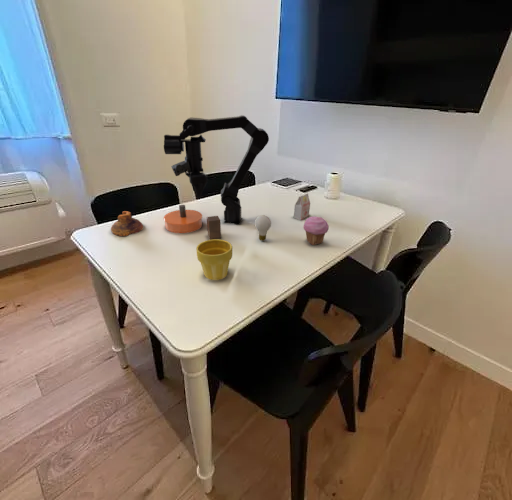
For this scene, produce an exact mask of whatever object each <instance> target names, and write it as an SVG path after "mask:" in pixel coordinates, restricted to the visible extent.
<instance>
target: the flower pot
mask: <svg viewBox="0 0 512 500" xmlns="http://www.w3.org/2000/svg"><path fill="white" fill-rule="evenodd" d="M195 251H196V258H197V261H198V262H199V263H200V266H201V268H202V271H203V274H204V276H205V278H206V279H208V280H211V281H219V280H222V279H225V278H226V277H227V275H228V271H229V266H230V261H231V260H232V259H233V245H232V244H231V242H229V241H228V240H224V239H213V240H210V239H207V240H204V241H201V242H200V243H198V244H197V246H196V250H195Z"/></svg>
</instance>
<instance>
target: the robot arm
mask: <svg viewBox="0 0 512 500" xmlns="http://www.w3.org/2000/svg"><path fill="white" fill-rule="evenodd" d="M232 129H233V130H234V129H242V130H243V131H244V132H245V133H246V134H247V135H248V136H249V137H250V139H249V143H248V147H247V150H246V152H245V154H244V155H243V158H242V159H241V162H240V163H239V165H238V167H237V169H236V171H235V173H234V175H233V176H232V179H231V180H230V181H229V182H228V183H227V182H224V184H223V188H222V189H220V202H221V204H222V205H223V206H225V207H224V210H223V220H224V222H223V223H225V224H232V225H240V224H241V223H242V220H243V217H242V206H241V200H240V198H239V197H238V195H239V191H240V187H241V185H242V183H244V180H245V178H246V176H247V174H248V172H249V170H250V169H251V167H252V165H253V163H254V161H255V159H256V157H258V155H259V154H260V153H261V152H262V151H264V149H265V148H266V146H267V145H268V143H269V141H270V138H269V134H268V133H267V131H266V130H265V129H263V128H260V127H258V126H256V125H255V124H254V123H253V122H252V121H250V120H249V119H248V117H247V116H245V115H243V114H241V115H239V116H238V115H237V116H229V117H219V118H217V117H216V118H203V117H193V116H192V117H187V119H185V120H184V122H183V124H182V131H181V132H180V133H179V134H178V135H177V134H174V135H173V134H164V135H163V152H164V154H165V155H182V152H185V156H184V160H182V161H180V162H177V163H175V164H172V165H171V169H172V171H173V173H174V175H175V177H179V176H180V175H182V174H185V176H187V178H188V179H189V183H190V185H191V188H192V190H193V192H195V195H196V198H197V199H201V196H202V194H203V191H204V189H205V187H206V185H207V184H208V175H207V174H206V173H204V168H203V160H204V159H203V156H202V144H201V143H206V138H205V137H203V135H202V134H205V133H207V132H212V131H222V130H223V131H224V130H232ZM189 137H190V138H189ZM187 138H189V139H187Z"/></svg>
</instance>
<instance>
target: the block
mask: <svg viewBox="0 0 512 500" xmlns="http://www.w3.org/2000/svg"><path fill="white" fill-rule="evenodd" d="M221 226H222V224H221V219H220V217H219V215H211V216H206V227H207V228H206V229H207V237H208V240H213V239H219V240H221V239H222V228H221Z"/></svg>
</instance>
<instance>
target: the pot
mask: <svg viewBox="0 0 512 500" xmlns="http://www.w3.org/2000/svg"><path fill="white" fill-rule="evenodd" d="M202 219H203V218H202ZM202 219H201V220H200V221H198V222H196V223H193V224H189V225H172V224H168V223H166V222H165V221H164V224H165V226H164V227H165V229H166V230H167V231H169V232H171V233H175V234H189V233H193V232H196V231H198V230H200V229H201V228H202V227H203V220H202Z"/></svg>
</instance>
